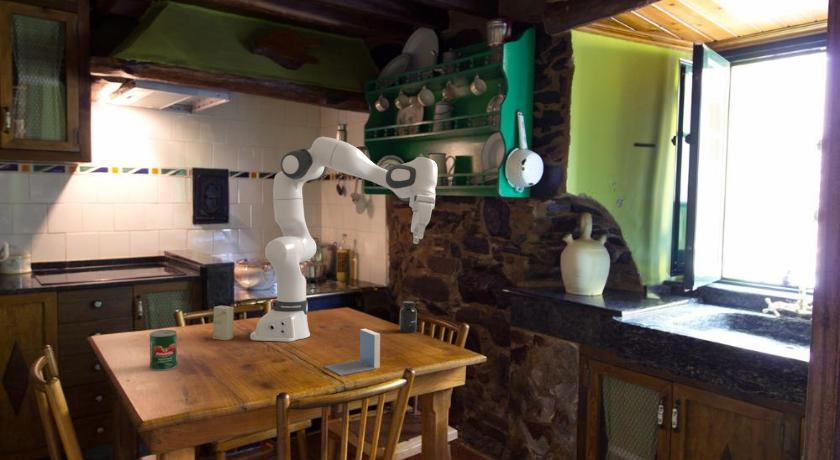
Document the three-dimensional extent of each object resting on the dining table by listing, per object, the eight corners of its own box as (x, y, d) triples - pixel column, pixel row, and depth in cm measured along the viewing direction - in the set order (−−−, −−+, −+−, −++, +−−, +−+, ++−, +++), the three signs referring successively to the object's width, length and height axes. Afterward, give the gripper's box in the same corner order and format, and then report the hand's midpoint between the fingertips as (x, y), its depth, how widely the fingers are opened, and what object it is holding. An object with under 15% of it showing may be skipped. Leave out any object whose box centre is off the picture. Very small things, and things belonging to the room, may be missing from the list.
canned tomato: (160, 372, 184) (159, 337, 183) (144, 367, 188) (144, 333, 188) (182, 366, 191) (182, 332, 190) (166, 362, 195) (166, 328, 194)
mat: (340, 376, 184) (340, 374, 183) (323, 367, 192) (323, 366, 192) (374, 369, 191) (374, 368, 191) (356, 361, 199) (356, 360, 199)
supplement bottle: (414, 333, 240) (415, 304, 239) (397, 332, 241) (398, 303, 240) (417, 329, 246) (418, 301, 246) (401, 328, 248) (402, 300, 247)
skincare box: (212, 339, 226) (212, 307, 225) (220, 336, 230) (220, 305, 229) (226, 340, 223) (226, 308, 223) (234, 338, 227) (234, 306, 227)
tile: (374, 368, 192) (374, 334, 191) (359, 362, 199) (360, 329, 198) (379, 367, 193) (380, 334, 192) (365, 361, 200) (365, 328, 200)
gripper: (409, 207, 220) (404, 244, 217) (417, 193, 200) (413, 234, 197) (426, 210, 220) (422, 247, 218) (436, 196, 201) (432, 236, 198)
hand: (417, 240), depth 207 cm, fingers open, 8 cm apart
